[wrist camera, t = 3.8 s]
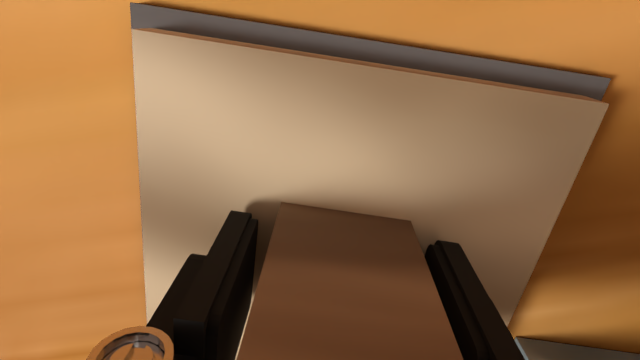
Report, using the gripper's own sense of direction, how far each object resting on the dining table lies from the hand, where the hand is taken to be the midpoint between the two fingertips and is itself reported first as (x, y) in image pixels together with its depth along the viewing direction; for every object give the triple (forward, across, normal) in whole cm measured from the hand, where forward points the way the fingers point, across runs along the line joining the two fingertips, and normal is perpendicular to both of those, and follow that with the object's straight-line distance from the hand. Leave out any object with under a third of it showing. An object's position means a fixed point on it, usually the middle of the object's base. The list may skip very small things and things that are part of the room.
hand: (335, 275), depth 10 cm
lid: (+1, 0, 0) cm, 1 cm away
